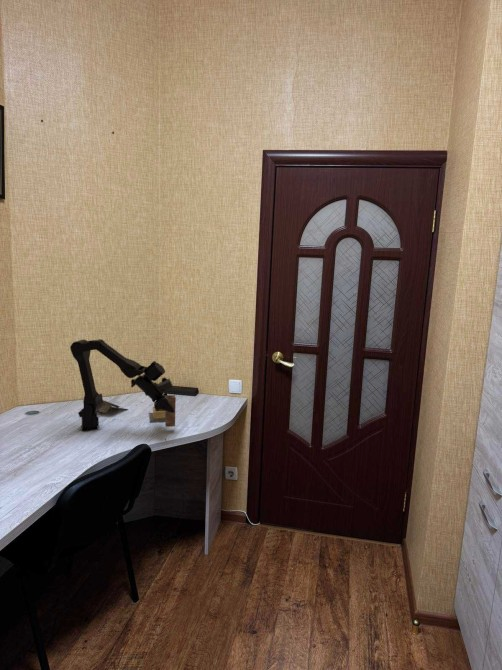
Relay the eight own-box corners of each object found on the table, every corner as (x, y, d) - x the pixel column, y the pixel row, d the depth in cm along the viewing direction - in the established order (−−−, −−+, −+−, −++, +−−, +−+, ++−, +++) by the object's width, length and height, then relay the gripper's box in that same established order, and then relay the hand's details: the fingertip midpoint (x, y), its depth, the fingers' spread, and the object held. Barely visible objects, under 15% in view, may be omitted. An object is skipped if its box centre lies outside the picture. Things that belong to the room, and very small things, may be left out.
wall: (93, 415, 229) (79, 402, 217) (102, 400, 233) (89, 387, 221) (119, 425, 224) (107, 413, 212) (128, 409, 228) (116, 397, 216)
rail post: (165, 426, 198) (166, 398, 196) (165, 423, 201) (165, 395, 199) (175, 426, 199) (175, 397, 197) (174, 423, 202) (174, 395, 200)
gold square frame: (150, 422, 210) (150, 413, 210) (149, 414, 221) (149, 406, 220) (174, 421, 213) (174, 412, 212) (172, 413, 223) (172, 405, 223)
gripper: (163, 379, 186) (189, 404, 191) (160, 368, 204) (184, 391, 209) (143, 398, 186) (169, 422, 190) (142, 385, 204) (167, 408, 208)
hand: (173, 410), depth 199 cm, fingers closed on rail post, 4 cm apart
